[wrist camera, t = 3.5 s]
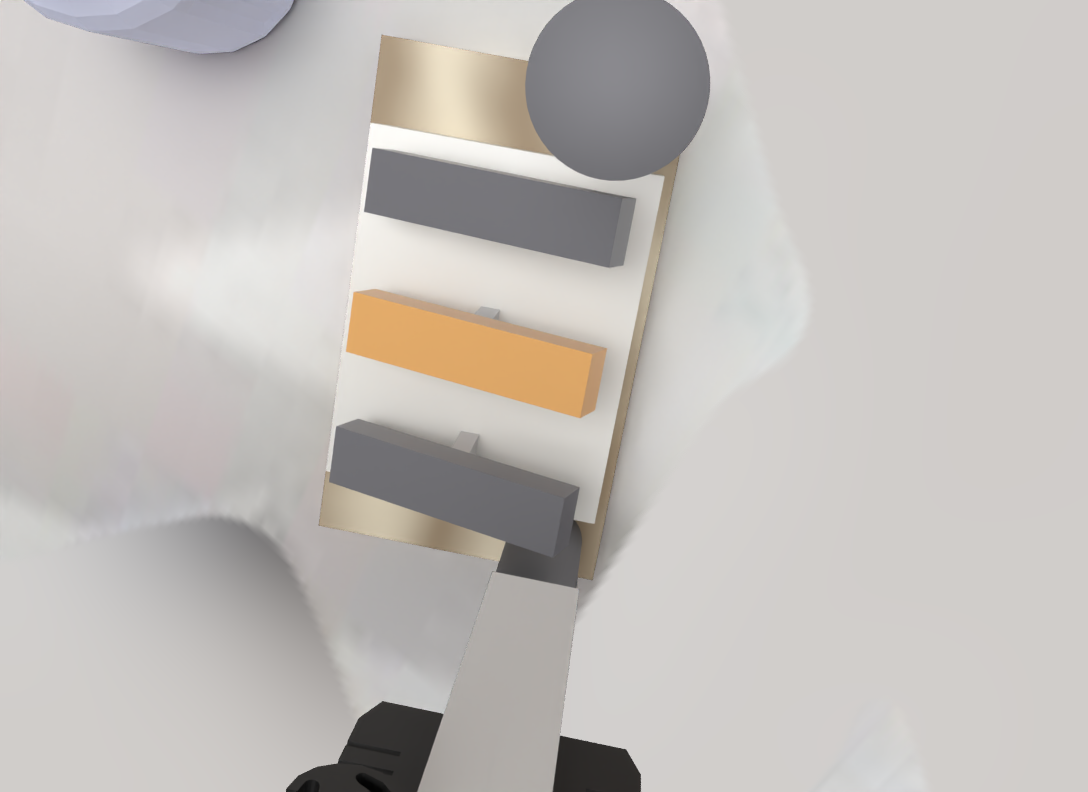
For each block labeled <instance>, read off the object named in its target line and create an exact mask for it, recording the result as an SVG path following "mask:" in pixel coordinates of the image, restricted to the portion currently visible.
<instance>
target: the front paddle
mask: <svg viewBox="0 0 1088 792" xmlns="http://www.w3.org/2000/svg"><path fill="white" fill-rule="evenodd" d="M635 204H636V199H635V198H631V197H626V196H621V195H616V194H611V193H606V192H601V191H596V190H591V189H586V188H581V187H576V186H571V185H566V184H561V183H556V182H551V181H546V180H541V179H536V178H532V177H527V176H522V175H517V174H512V173H507V172H502V171H497V170H492V169H487V168H482V167H477V166H472V165H467V164H462V163H457V162H452V161H447V160H442V159H437V158H433V157H428V156H423V155H418V154H413V153H408V152H403V151H398V150H391V149H381V148H372V154H371V161H370V169H369V177H368V184H367V192H366V200H365V208H364V212H367V213H371V214H375V215H380V216H384V217H389V218H393V219H397V220H402V221H406V222H410V223H415V224H419V225H424V226H428V227H432V228H437V229H441V230H445V231H450V232H454V233H459V234H463V235H467V236H472V237H476V238H480V239H485V240H489V241H494V242H498V243H502V244H507V245H511V246H515V247H520V248H524V249H529V250H533V251H537V252H542V253H546V254H550V255H555V256H559V257H564V258H568V259H572V260H577V261H581V262H585V263H590V264H594V265H599V266H603V267H607V268H611V267H617V266H623V265H624V260H625V255H626V250H627V245H628V240H629V235H630V230H631V225H632V220H633V214H634V209H635Z"/></svg>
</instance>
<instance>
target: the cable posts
mask: <svg viewBox="0 0 1088 792" xmlns="http://www.w3.org/2000/svg"><path fill="white" fill-rule="evenodd" d="M709 93H710V73H709V65H708V60H707V56H706V53H705V50H704V47H703V45H702V42H701V40H700V38H699V36H698V35H697V33H696V31H695V29H694V28H693V27H692V25H691V24H690V23H689V21H688V20H687V19H686V18H685V17H684V16H683V15H682V14H681V13H680V12H679V11H678V10H677V9H676V8H674V7H673V6H672V5H671V4H669V3H668V2H666V1H664V0H574V1H573V2H571V3H570V4H568V5H567V6H565V7H564V8H563V9H562V10H560V11H559V12H558V13H557V14H556V15H555V16H554V17H553V18H552V19H551V20H550V21H549V22H548V24H547V25H546V26H545V28H544V29H543V30H542V32H541V33H540V35H539V37H538V39H537V41H536V43H535V44H534V47H533V49H532V52H531V55H530V57H529V61H528V66H527V70H526V80H525V95H526V102H527V108H528V112H529V115H530V119H531V121H532V124H533V126H534V128H535V131H536V132H537V134H538V136H539V138H540V139H541V141H542V142H543V144H544V145H545V146H546V148H547V149H548V150H549V151H550V152H551V153H552V154H553V155H554V156H555V157H556V158H557V159H558V160H559V161H561V162H562V163H563V164H565V165H566V166H567V167H569V168H571V169H573V170H574V171H576V172H578V173H581V174H583V175H585V176H588V177H592V178H596V179H600V180H608V181H624V180H631V179H636V178H640V177H643V176H646V175H649V174H651V173H653V172H656V171H658V170H659V169H661V168H663V167H664V166H666V165H668V164H669V163H670V162H671V161H673V160H674V159H675V158H677V157H678V156H679V155H680V154H681V153H682V152H683V151H684V150H685V148H686V147H687V146H688V145H689V143H690V142H691V141H692V139H693V138H694V136H695V135H696V133H697V131H698V129H699V128H700V125H701V123H702V121H703V118H704V116H705V112H706V109H707V105H708V100H709ZM581 547H582V535H581V531H580V528H579V526H578V524H577V522H576V521H575V520H573V525H572V530H571V535H570V540H569V545H568V546H567V547H565V548H564V549H563V550H562V551H561V552H559V553H558V554H557V555H556V556H555V557H553V558H552V557H549V556H546V555H543V554H540V553H537V552H534V551H532V550H529V549H526V548H523V547H520V546H517V545H514V544H511V543H508V542H505V545H504V549H503V552H502V555H501V558H500V561H499V564H498V567H497V571H496V572H498V573H503V574H508V575H513V576H518V577H523V578H528V579H533V580H538V581H542V582H547V583H552V584H557V585H562V586H567V587H572V588H576V587H577V579H578V571H579V563H580V555H581Z"/></svg>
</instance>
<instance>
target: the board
mask: <svg viewBox="0 0 1088 792" xmlns="http://www.w3.org/2000/svg"><path fill="white" fill-rule="evenodd" d="M527 66H528V61H524V60H519V59H513V58H507V57H502V56H496V55H491V54H485V53H480V52H474V51H469V50H463V49H457V48H452V47H446V46H441V45H435V44H430V43H424V42H419V41H413V40H408V39H402V38H396V37H391V36H385V35H382V37H381V45H380V52H379V60H378V68H377V76H376V84H375V91H374V99H373V107H372V115H371V123H382V124H387V125H393V126H398V127H404V128H409V129H415V130H420V131H426V132H431V133H436V134H442V135H447V136H453V137H458V138H464V139H469V140H475V141H480V142H485V143H491V144H496V145H502V146H507V147H513V148H518V149H524V150H529V151H534V152H540V153H545V154H551V155H553V154H552V153H551V152H550V151H549V150H548V149H547V148H546V146H545V145H544V144H543V142H542V141H541V139H540V138H539V136H538V134H537V132H536V131H535V128H534V126H533V124H532V121H531V119H530V115H529V112H528V108H527V102H526V95H525V80H526V70H527ZM679 156H680V155H679ZM679 156H678V157H677V158H675V159H674V160H673V161H671V162H670V163H669V164H668V165H666V166H664V167H663V168H661V169H659V170H658V171H656V172H653V173H654V174H660V175H664V176H665V178H664V183H663V188H662V193H661V198H660V203H659V208H658V213H657V217H656V222H655V227H654V232H653V237H652V242H651V247H650V252H649V257H648V262H647V267H646V272H645V277H644V282H643V287H642V292H641V296H640V301H639V306H638V311H637V316H636V321H635V326H634V331H633V336H632V341H631V346H630V351H629V356H628V361H627V366H626V371H625V376H624V380H623V385H622V390H621V395H620V400H619V405H618V410H617V415H616V420H615V425H614V430H613V435H612V440H611V445H610V450H609V455H608V459H607V464H606V469H605V474H604V479H603V484H602V489H601V494H600V499H599V504H598V509H597V514H596V519H595V524H592V523H587V522H582V521H577V520H575V521H576V522H577V524H578V526H579V528H580V531H581V535H582V547H581V555H580V563H579V571H578V577H579V578H584V579H589V580H593V575H594V570H595V566H596V561H597V556H598V551H599V546H600V541H601V536H602V531H603V526H604V522H605V517H606V512H607V507H608V502H609V497H610V492H611V487H612V483H613V478H614V473H615V468H616V463H617V458H618V453H619V448H620V444H621V439H622V434H623V429H624V424H625V419H626V414H627V409H628V405H629V400H630V395H631V390H632V385H633V380H634V375H635V370H636V366H637V361H638V356H639V351H640V346H641V341H642V336H643V331H644V327H645V322H646V317H647V312H648V307H649V302H650V297H651V292H652V288H653V283H654V278H655V273H656V268H657V263H658V258H659V253H660V249H661V244H662V239H663V234H664V229H665V224H666V219H667V214H668V209H669V205H670V200H671V195H672V190H673V185H674V180H675V175H676V170H677V166H678V161H679ZM329 478H330V472H328V471H326V473H325V481H324V489H323V497H322V504H321V512H320V520H319V526H324V527H329V528H334V529H339V530H344V531H349V532H354V533H359V534H364V535H369V536H374V537H379V538H384V539H389V540H394V541H399V542H404V543H409V544H414V545H419V546H424V547H429V548H434V549H439V550H444V551H449V552H454V553H459V554H464V555H469V556H474V557H479V558H484V559H489V560H494V561H500V558H501V555H502V552H503V549H504V545H505V541H502V540H499V539H496V538H493V537H490V536H487V535H484V534H481V533H478V532H475V531H472V530H469V529H466V528H463V527H460V526H458V525H455V524H452V523H449V522H446V521H443V520H440V519H437V518H434V517H431V516H428V515H425V514H422V513H419V512H416V511H413V510H410V509H407V508H404V507H401V506H398V505H395V504H392V503H389V502H386V501H384V500H381V499H378V498H375V497H372V496H369V495H366V494H363V493H360V492H357V491H354V490H351V489H348V488H345V487H342V486H339V485H336V484H333V483H330V482H329Z"/></svg>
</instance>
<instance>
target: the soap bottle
mask: <svg viewBox="0 0 1088 792" xmlns="http://www.w3.org/2000/svg"><path fill="white" fill-rule="evenodd" d="M24 1H25V2H26V3H28V4H29V5H30V6H32V7H33V8H34V9H36V10H37V11H38V12H39V13H41V14H42V15H43V16H45V17H46V18H49V19H52V20H55V21H58V22H61V23H64V24H67V25H70V26H74V27H77V28H80V29H83V30H86V31H89V32H94V33H99V34H104V35H108V36H113V37H118V38H123V39H128V40H133V41H138V42H142V43H147V44H152V45H157V46H162V47H167V48H172V49H176V50H181V51H186V52H191V53H196V54H206V53H223V52H234V51H236V50H238V49H240V48H242V47H245V46H247V45H249V44H251V43H253V42H255V41H257V40H259V39H261V38H263V37H265V36H266V35H267V34H268V33H269V32H270V31H271V30H272V29H273V28H274V27H275V25H276V24H277V23H278V22H279V21H280V20H281V19H282V18H283V17H284V16H285V15H286V14H287V12H288V11H289V10H290V9H291V6H292V4H293V1H294V0H24Z"/></svg>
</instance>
